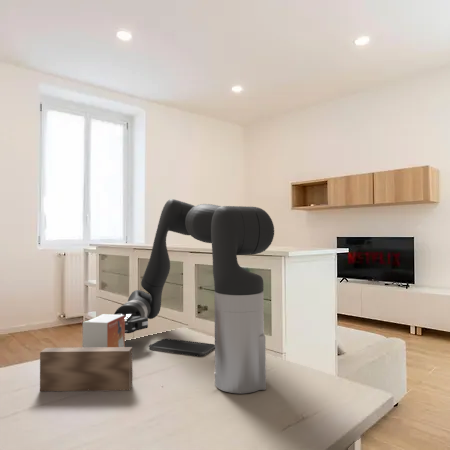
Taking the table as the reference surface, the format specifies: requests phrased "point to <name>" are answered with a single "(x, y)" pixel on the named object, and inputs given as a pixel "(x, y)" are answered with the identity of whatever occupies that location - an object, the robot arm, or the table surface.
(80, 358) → the walnut board
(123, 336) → the small box
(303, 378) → the table surface
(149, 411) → the table surface
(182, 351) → the phone
